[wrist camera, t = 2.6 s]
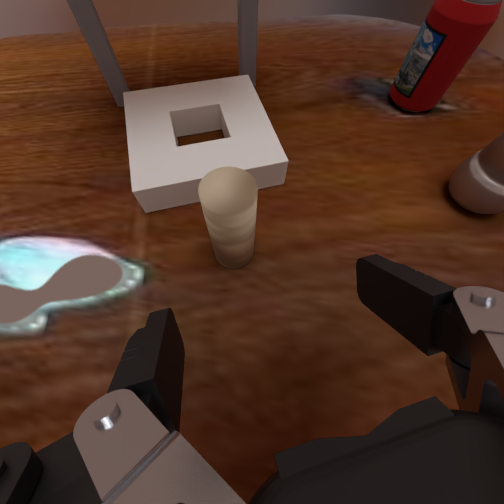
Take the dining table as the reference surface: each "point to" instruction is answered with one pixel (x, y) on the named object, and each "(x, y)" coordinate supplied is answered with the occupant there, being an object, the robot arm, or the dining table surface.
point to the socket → (200, 154)
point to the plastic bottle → (481, 180)
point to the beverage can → (441, 51)
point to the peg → (230, 214)
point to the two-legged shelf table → (109, 65)
